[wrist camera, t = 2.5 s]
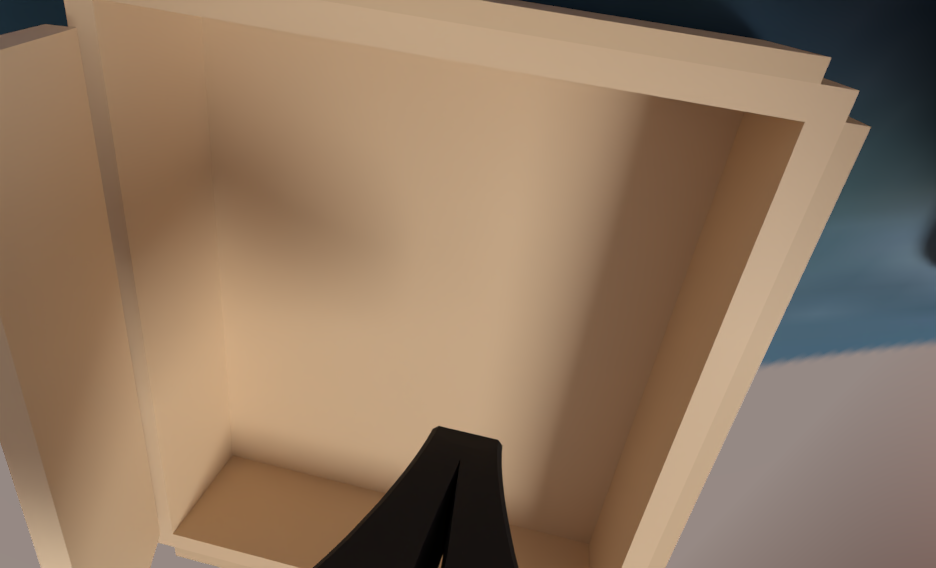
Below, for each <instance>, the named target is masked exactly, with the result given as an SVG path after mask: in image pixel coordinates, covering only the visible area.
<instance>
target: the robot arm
mask: <svg viewBox="0 0 936 568" xmlns="http://www.w3.org/2000/svg"><path fill="white" fill-rule="evenodd" d="M442 555H443V558H442ZM441 558H442V564H441V568H519V567H518V563H517V559H516V555H515V551H514V546H513V542H512V537H511V531H510V526H509V521H508V515H507V510H506V503H505V496H504V487H503V477H502V444H501V443H500V442H499V440H497V439H493V438H488V437H484V436H480V435H476V434H471V433H467V432H463V431H459V430H454V429H450V428H446V427H442V426H437V427H435V428H433V429H432V431H431V433H430V434H429V436H428V438H427V440H426V441H425V443H424V444H423V446H422V447H421V449H420V450H419V452H418V453H417V455H416V456H415V457H414V459H413V460H412V461H411V463H410V464H409V465H408V467H407V468H406V469H405V471H404V472H403V473H402V474H401V476H400V477H399V478H398V479H397V480H396V482H395V483H394V484H393V485H392V487H391V488H390V489H389V490H388V491H387V493H386V494H385V495H384V496H383V497H382V498H381V500H380V501H379V502H378V503H377V504H376V505H375V506H374V507H373V508H372V510H371V511H370V512H369V513H368V514H367V515H366V516H365V517H364V518H363V519H362V520H361V521H360V522H359V523H358V524H357V525H356V526H355V528H354V529H353V530H352V531H351V532H350V533H349V534H348V535H347V536H346V537H345V538H344V539H343V540H342V541H341V542H340V543H339V544H338V545H337V546H336V547H335V548H333V549H332V550H331V551H330V552H329V553H328V554H327V555H326V556H325V557H324V558H323V559H322V560H321V561H319V562H318V563H317V564H316V565H315V566H314V567H313V568H438V567H439V564H440V561H441Z"/></svg>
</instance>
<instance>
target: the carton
mask: <svg viewBox="0 0 936 568" xmlns="http://www.w3.org/2000/svg"><path fill="white" fill-rule="evenodd" d="M64 5H65V11H66V17H67V22H68V27H75V28H77V35H78V41H79V47H80V53H81V59H82V65H83V71H84V77H85V83H86V89H87V95H88V101H89V107H90V113H91V119H92V125H93V131H94V137H95V143H96V149H97V155H98V161H99V167H100V173H101V179H102V185H103V191H104V197H105V203H106V209H107V215H108V221H109V227H110V233H111V239H112V245H113V251H114V257H115V264H116V270H117V276H118V282H119V288H120V294H121V300H122V306H123V312H124V318H125V324H126V330H127V336H128V342H129V348H130V354H131V360H132V366H133V372H134V378H135V384H136V390H137V396H138V402H139V408H140V414H141V420H142V426H143V432H144V438H145V444H146V450H147V456H148V462H149V468H150V474H151V480H152V486H153V493H154V499H155V505H156V511H157V517H158V523H159V529H160V536H159V540H158V543H161V544H165V545H169V546H173V547H175V551H176V556H180V557H184V558H187V559H191V560H195V561H198V562H202V563H206V564H210V565H213V566H217V567H221V568H313V567H314V566H315V565H316V564H317V563H318V562H319V561H321V560H322V559H323V558H324V557H325V556H326V555H327V554H328V553H329V552H330V551H331V550H332V549H333V548H335V547H336V546H337V545H338V544H339V543H340V542H341V541H342V540H343V539H344V538H345V537H346V536H347V535H348V534H349V533H350V532H351V531H352V530H353V529H354V528H355V526H356V525H357V524H358V523H359V522H360V521H361V520H362V519H363V518H364V517H365V516H366V515H367V514H368V513H369V512H370V511H371V510H372V508H373V507H374V506H375V505H376V504H377V503H378V502H379V501H380V500H381V498H382V497H383V496H384V495H385V494H386V493H387V491H388V490H389V489H390V488H391V487H392V485H393V484H394V483H395V482H396V480H397V479H398V478H399V477H400V476H401V474H402V473H403V472H404V471H405V469H406V468H407V467H408V465H409V464H410V463H411V461H412V460H413V459H414V457H415V456H416V455H417V453H418V452H419V450H420V449H421V447H422V446H423V444H424V443H425V441H426V440H427V438H428V436H429V434H430V433H431V431H432V429H433V428H435V427H437V426H442V427H446V428H450V429H454V430H459V431H463V432H467V433H471V434H476V435H480V436H484V437H488V438H493V439H497V440H499V442H500V443H501V444H502V477H503V487H504V496H505V503H506V510H507V515H508V521H509V526H510V531H511V537H512V542H513V546H514V551H515V555H516V559H517V563H518V567H519V568H665V567H666V565H667V563H668V561H669V559H670V556H671V555H672V552H673V550H674V548H675V546H676V544H677V542H678V540H679V537H680V535H681V533H682V531H683V529H684V527H685V525H686V522H687V520H688V518H689V516H690V514H691V512H692V510H693V507H694V505H695V503H696V501H697V499H698V497H699V495H700V492H701V490H702V488H703V486H704V484H705V482H706V480H707V477H708V475H709V473H710V471H711V469H712V467H713V464H714V462H715V460H716V458H717V456H718V454H719V452H720V450H721V447H722V445H723V443H724V441H725V439H726V437H727V434H728V432H729V430H730V428H731V426H732V424H733V422H734V420H735V417H736V415H737V413H738V411H739V409H740V407H741V404H742V402H743V400H744V398H745V396H746V394H747V392H748V390H749V388H750V385H751V383H752V381H753V379H754V377H755V375H756V373H757V370H758V368H759V366H760V364H761V362H762V360H763V358H764V355H765V353H766V351H767V349H768V347H769V345H770V343H771V340H772V338H773V336H774V334H775V332H776V330H777V328H778V325H779V323H780V321H781V319H782V317H783V315H784V313H785V310H786V308H787V306H788V304H789V302H790V300H791V298H792V295H793V293H794V291H795V289H796V287H797V285H798V283H799V280H800V278H801V276H802V274H803V272H804V270H805V268H806V265H807V263H808V261H809V259H810V257H811V255H812V253H813V250H814V248H815V246H816V244H817V242H818V240H819V238H820V235H821V233H822V231H823V229H824V227H825V225H826V223H827V220H828V218H829V216H830V214H831V212H832V210H833V208H834V205H835V203H836V201H837V199H838V197H839V195H840V193H841V190H842V188H843V186H844V184H845V182H846V180H847V178H848V175H849V173H850V171H851V169H852V167H853V165H854V163H855V160H856V158H857V156H858V154H859V152H860V150H861V148H862V145H863V143H864V141H865V139H866V137H867V135H868V133H869V130H870V128H871V127H870V126H868V125H866V124H864V123H862V122H860V121H857V120H855V119H853V118H851V117H849V114H850V111H851V109H852V107H853V105H854V102H855V100H856V98H857V96H858V93H859V90H856V89H853V88H850V87H848V86H845V85H842V84H839V83H836V82H834V81H831V80H828V79H825V78H823V77H824V74H825V72H826V70H827V67H828V65H829V62H830V60H831V57H827V56H823V55H819V54H816V53H812V52H808V51H804V50H800V49H796V48H793V47H789V46H785V45H781V44H777V43H773V42H770V41H766V40H760V39H754V38H748V37H742V36H736V35H729V34H723V33H717V32H711V31H705V30H699V29H693V28H686V27H680V26H674V25H668V24H662V23H656V22H649V21H643V20H637V19H631V18H625V17H619V16H612V15H606V14H600V13H594V12H588V11H582V10H575V9H569V8H563V7H557V6H551V5H545V4H538V3H532V2H526V1H520V0H64ZM442 558H443V555H442ZM442 558H441V561H440V564H439V567H438V568H441V564H442Z"/></svg>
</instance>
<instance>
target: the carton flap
mask: <svg viewBox="0 0 936 568" xmlns="http://www.w3.org/2000/svg"><path fill="white" fill-rule="evenodd" d="M0 443H1V446H2V449H3V452H4V455H5V458H6V461H7V464H8V467H9V470H10V474H11V476H12V480H13V483H14V486H15V489H16V492H17V495H18V498H19V501H20V504H21V507H22V511H23V514H24V517H25V520H26V523H27V526H28V529H29V532H30V535H31V538H32V541H33V544H34V548H35V550H36V553H37V557H38V560H39V563H40V566H41V568H150V567H151V563H152V560H153V557H154V553H155V550H156V546H157V543H158V540H159V536H160V529H159V523H158V517H157V511H156V505H155V499H154V493H153V486H152V480H151V474H150V468H149V462H148V456H147V450H146V444H145V438H144V432H143V426H142V420H141V414H140V408H139V402H138V396H137V390H136V384H135V378H134V372H133V366H132V360H131V354H130V348H129V342H128V336H127V330H126V324H125V318H124V312H123V306H122V300H121V294H120V288H119V282H118V276H117V270H116V264H115V257H114V251H113V245H112V239H111V233H110V227H109V221H108V215H107V209H106V203H105V197H104V191H103V185H102V179H101V173H100V167H99V161H98V155H97V149H96V143H95V137H94V131H93V125H92V119H91V113H90V107H89V101H88V95H87V89H86V83H85V77H84V71H83V65H82V59H81V53H80V47H79V41H78V35H77V28H75V27H66V26H57V25H49V24H43V25H39V26H35V27H31V28H27V29H23V30H19V31H15V32H11V33H7V34H3V35H0Z"/></svg>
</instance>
